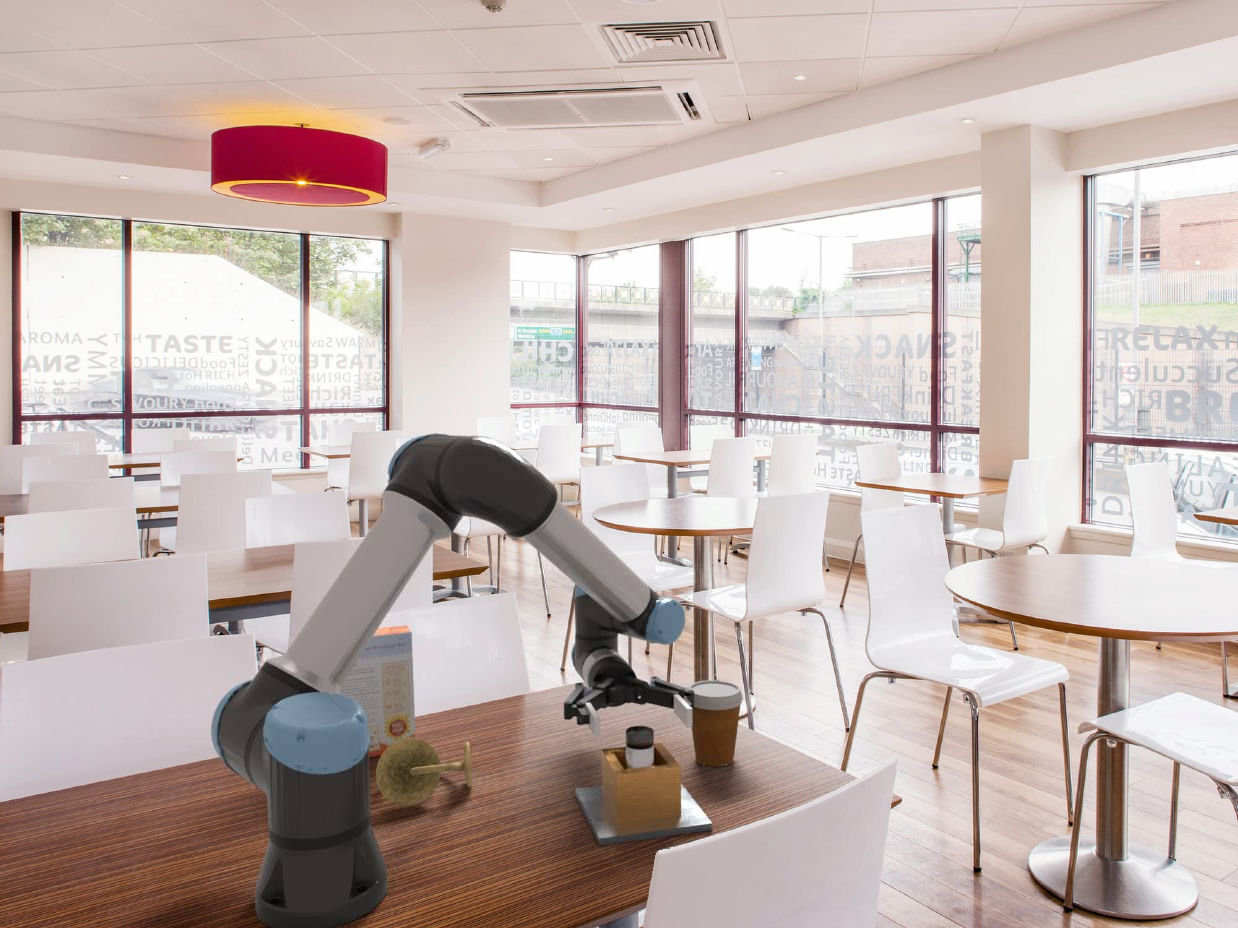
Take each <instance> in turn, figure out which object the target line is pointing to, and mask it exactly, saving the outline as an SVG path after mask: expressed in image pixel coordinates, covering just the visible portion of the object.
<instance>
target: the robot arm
mask: <svg viewBox="0 0 1238 928" xmlns="http://www.w3.org/2000/svg"><path fill="white" fill-rule="evenodd" d="M387 474H388V479H387V486H386V487H385V489H384V491H382V493H381V499H382V500H381V501H382V504H383V511H382V512H381V513H380V515H379V516H378V518H377V519H376V521H375V522H374V524H373V525H372V527H370V530H369V531H368V532H367V534H366V536H365V537H364V538H363V539H362V541H361V543H360V544H359V546H357V548H356V550H355V551H354V553H353V554H352V556H351V557H350V558H349V560H348V561H347V563H346V564H345V566H344V567H343V569H342V571H341V572H340V573H339V575H337V578H336V579H335V580H334V582H333V583H332V585H331V586H330V587H329V589H328V590H327V592H326V594H325V595H324V597H323V598H322V600H320V602H319V604H318V605H317V606H316V608H315V609H314V611H313V612H312V614H311V616H309V619H307V621H306V623H305V624H304V625H303V626H302V628H301V630H300V631H299V633H298V634H297V635H296V637H295V638H294V640H293V641H292V642H291V645H290V646H289V647H288V649H287V650H286V652H285V653H282V655H279V656H276V657H275V656H274V657H271V658H267V659H266V660H265V661H264V663H263V664H262V665H261V667H260V669H259V670H258V671H257V673H256V674H255V676H254V677H253V678H251V679H249V680H247V681H244V682H241V683H238V684H237V685H235V686H234V687H231V689H230V690H229V691H227V693H226V694H225V695H224V696H223V697H222V698H221V699H220V702H219V703H218V704H217V706H216V708H215V711H214V713H213V715H212V716H213V717H212V719H211V720H212V721H211V725H210V727H211V728H210V735H211V736H210V737H211V742H212V745H213V748H214V750H215V752H216V754H217V755H218V756H219V758H220V759H221V760H222V761H223V763H224V764H225V766H226V767H228V769H229V770H230V771H231V772H232V773H234V774H236V775H238V776H240V777H243V778H244V779H245V780H246V781H248V782H250V783H251V784H252V785H254V786H255V787H256V788H257V789H259V790H260V791H262V792H263V793H264V794H265V795H266V798H267V799H266V802H267V818H268V819H267V820H268V821H267V822H268V844H267V845H268V846H267V849H266V852H265V855H264V859H263V862H262V866H261V869H260V871H259V874H258V875H259V876H258V879H257V882H256V886H255V889H254V901H255V903H254V904H255V913H256V916H257V918H258V919H259V921H261V922H262V923H263V924H264V925H266V926H268V927H270V928H335V927H340V926H342V925H345V924H348V923H350V922H353V921H354V920H355V921H356V920H357V919H359V918H361V917H363V916H365V915H367V914H368V913H369V912H371V911H372V910H373V909H375V908H376V907H377V906H378V905H380V903H381V902H382V900H384V898H385V896H386V894H387V891H388V886H389V884H388V868H387V864H386V861H385V859H384V856H383V853H382V850H381V848H380V846H379V843H378V840H377V837H376V836H375V832H374V830H373V828H372V820H371V819H372V817H371V780H370V779H371V778H370V777H371V776H370V773H371V772H370V771H371V770H370V758H369V745H370V735H369V729H368V724H367V717H366V713H365V711H364V709H363V708H362V706H361V705H360V704H359V703H358V702H356V701H355V700H353V699H351V698H349V697H347V696H344V695H341V693H340V686H341V684H342V683H343V681H344V680H345V678H346V677H347V675H348V674H349V672H350V671H351V669H352V667H353V666H354V664H355V663H356V661H357V660H358V658H359V657H360V655H361V654H362V652H363V651H364V649H365V647H366V646H367V644H368V643H369V641H370V640H371V638H372V637H373V635H374V634H375V632H376V630H377V629H378V628H380V626H381V625H382V623H383V621H384V620H385V618H386V617H387V615H388V613H389V612H390V611H391V610H392V609H391V608H392V607H393V606H394V604H395V603H396V601H397V600H398V598H399V596H400V595H401V594H402V592H403V590H404V588H405V587H406V586H407V584H408V583H409V581H410V580H411V578H412V576H414V573H415V572H416V571H417V569H418V567H419V565H420V564H421V563H422V561H423V560H424V558H425V556H426V555H427V553H428V552H429V551H430V549H431V547H432V545H433V544H434V543H435V542H436V541H439V540H445V539H449V538H450V537H451V535H453V532H455V531H454V530H456V528H457V526H458V525H459V523H460V522H461V520H462V518H463V517H471V518H475V519H479V520H482V521H485V522H489V523H491V524H493V525H495V526H497V527H498V528H500V529H501V530H503V531H504V532H505V533H506V534H507V535H509V536H510V537H511V538H514V539H524V540H525V541H526V542H527V543H528V544H530V545H531V546H532V547H533V548H534V549H535V550H536V551H538V552H539V553H540V554H541V555H542V556H543V557H544V558H545V559H547V561H549V562H550V563H551V564H552V565H554V566H555V567H556V568H557V569H558V570H559V571H561V573H562V574H564V575H565V576H566V577H567V578H568V579H570V580H571V581H572V582H573V583H574V596H573V599H574V621H575V623H574V624H575V630H574V631H575V635H574V644H573V646H572V649H571V653H570V656H571V661H572V665H573V667H574V670H575V671H576V673H577V674H578V676H579V677H580V678H581V679H582V680H583V682H584V683H585V684H584V683H582V682H576V683H575V684H574V685H575V686H574V687H575V688H574V690H572V692H571V693H570V694H569V696H568V697H567V698H566V699H565V700H564V701H563V719H564V720H566V721H569V720H572V719H573V718H574V717H575V718H576V725H577V726H583V725H587V726H588V728H589V729H590V731H591V733H592V734H593V736H594V738H598V737H601V717H600V715H599V714H598V712H597V711H599V710H600V709H607V708H616V707H621V706H623V705H625V704H636V705H641V706H644V705H646V704H651V705H655V706H659V707H664V708H668V709H672V710H673V713H674V715H676V717H677V718H678V719H680V721H681V722H682V723H683V724H684V726H685V727H687V728H692V708H693V707H694V691H693V690H691V689H688V687H684V686H681V685H680V684H679V685H678V684H676V683H672V682H669V681H667V680H664V679H662V678H661V677H659V676H656V675H654V676H651V677H650V681H645V680H642V679H639V678H638V677H637V675H636V673H635V671H634V670H633V668H632V667H631V665H629V663H628V662H627V661H626V660H625V659H624V658H623V657H622V655H621V654H620V653H619V635H622V636H625V637H626V636H627V637H630V638H633V639H637V640H642V641H645V642H647V643H649V644H652V645H653V644H660V645H665V646H666V645H671V644H673V643H675V642H676V641H677V640H678V639H679V638H680V637H681V635H682V633H683V631H684V628H685V625H686V613H685V609H684V606H683V605H682V604H681V603H680V602H679V601H678V600H676V599H674V598H670V597H668V596H662V595H660V594H657V592H655V591H654V590H653V589H652V588H651V587H650V586H649V585H648V584H647V583H646V582H645V581H644V580H643V579H642V578H641V577H639V576H638V575H637V574H636V572H634V571H633V569H631V568H630V567H629V566H628V565H627V564H626V562H624V561H623V560H622V559H621V558H620V557H619V556H618V555H616V554H615V553H614V552H613V551H612V549H611V548H609V546H607V545H606V544H605V543H604V542H603V540H601V539H600V538H599V537H598V536H597V535H596V534H595V533H594V532H593V531H592V530H590V529H589V528H588V527H587V525H585V524H584V522H582V521H581V520H580V519H579V518H578V517H577V516H576V515H575V514H574V513H573V512H572V511H571V509H569V508H568V507H567V506H566V505H564V503H562V502H561V500H559V491H558V489H557V487H556V486H555V484H553V483H552V482H551V481H550V480H549V479H548V478H547V477H546V476H545V475H544V474H543V473H542V472H540V471H539V470H538V469H537V468H536V467H535V466H533V464H531V463H530V462H529V461H528V460H527V459H525V457H523V456H522V455H520V454H519V452H516V451H515V450H514V449H513V448H511V447H509V446H508V445H506V444H505V443H503V442H501V441H499V440H496V439H495V438H494V439H493V438H491V437H489V436H484V435H483V436H482V435H450V434H446V433H437V432H434V433H429V434H425V435H419V436H416V437H412V438H411V439H409V440H407V441H405V442H404V443H403V444H402V445H400V447H399V448H398V449H397V450H396V451H395V452H394V454H393V456H392V457H391V460H390V462H389V464H388V469H387Z"/></svg>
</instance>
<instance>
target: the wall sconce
mask: <svg viewBox="0 0 1238 928" xmlns="http://www.w3.org/2000/svg"><path fill="white" fill-rule="evenodd" d="M463 747H464V748H463V761H456V762H452V763H443V764H442V762H441V759H440V757H439V754H438V752H437V751H436V749H435V748H434V747H433V745H431V744H430V743H428V742H426V741H425V740H422V739H419V738H416V739H415V738H407V739H402V740H399V741H397V742H395V743H393V744H392V745H390V746H389V747H388V748H387V749H386V750H385V751H384V752H383V754H382V755H381V756H379V760H378V761H377V765H376V770H375V780H376V785H377V787H378V790H379V791H380V793H381V794H382V796H384V798H385V799H386V800H388V801H389V802H392V803H393V804H396V805H399V806H404V807H405V806H414V805H417V804H420V803H422V802H424V801H425V800H427V799H428V798H429V797H430V796H432V794H433V793H434V792H435V791H436V789H437V787H438V786H439V783H440V781H441V776H442V773H443V772H451V771H452V772H461V771H464V779H465V783H466V786H467V787H468V788H472V787H473V786H472V785H473V784H472V781H473V780H472V762H471V760H472V759H471V750H470V749H471V748H470V742H469V741H467V742H465V744H464V746H463Z"/></svg>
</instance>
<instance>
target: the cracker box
mask: <svg viewBox="0 0 1238 928" xmlns="http://www.w3.org/2000/svg"><path fill="white" fill-rule="evenodd" d="M412 634H413V633H412V631H411V629H410V627H409V626H408V625H406V624H404V625H396V626H395V625H394V626H386V627H378V629H377V630H376V632H375V634H374V635H373V637H372V638H371V640H370V641H369V643H368V644H367V646H366V647H365V649H364V651H363V652H362V654H361V655H360V657H359V658H358V660H357V661H356V663H355V664H354V666H353V667H352V669H351V671H350V672H349V674H348V675H347V677H346V678H345V680H344V681H343V683H342V684H341V686H340V693H341V695H344V696H347V697H349V698H351V699H353V700H355V701H356V702H358V703H359V704H360V705H361V706H362V708H363V709H364V711H365V713H366V717H367V724H368V729H369V735H370V745H369V759H370V758H374V757H375V758H376V757H381V755H382V754H383V752H384V751H385V750H386V749H387V748H388V747H389V746H390V745H392V744H393V743H395V742H397V741H399V740H402V739H407V738H415V739H417V738H416V719H415V717H416V716H415V715H416V713H415V712H416V711H415V709H416V708H415V688H414V687H415V685H414V684H415V683H414V682H415V681H414V660H413V659H414V658H413V635H412Z"/></svg>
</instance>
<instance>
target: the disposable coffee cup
mask: <svg viewBox="0 0 1238 928" xmlns="http://www.w3.org/2000/svg"><path fill="white" fill-rule="evenodd" d="M687 688H688V689H691V690H693V691H694V707H693V708H692V727H691V733H692V740H693V741H692V742H693V748H694V757H695V758H696V759H695V760H697V761H698V762H699V763H698V762H697V761H696V762H697V763H698V764H700V763H701V765H703V764H705V765H704V766H706V765H709V766H708V767H714V766H719V767H723V766H722V765H725V764H729V763H731V762H732V761H733V762H734V760H735V759H734V758H735V750H736V744H737V734H738V727H739V719H740V712H741V711H740V710H741V705H742V702H743V700H744V694H743V693H742V690H741V687H740V686H739V685H737V684H736V683H734V682H732V681H731V682H730V681H725V680H714V679H712V680H700V681H699V680H698V681H696V682H694V683H690V685H689V686H688V687H687ZM733 759H734V760H733ZM733 762H732V763H733ZM732 763H731V764H732ZM729 765H730V764H729Z"/></svg>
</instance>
